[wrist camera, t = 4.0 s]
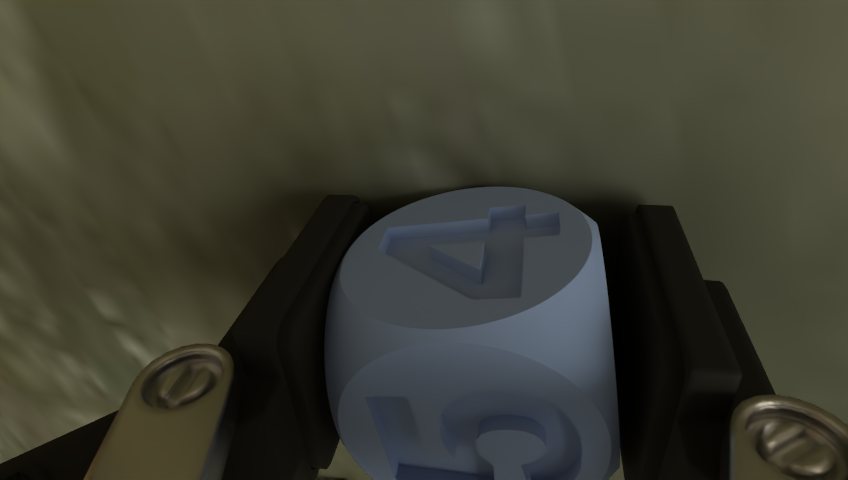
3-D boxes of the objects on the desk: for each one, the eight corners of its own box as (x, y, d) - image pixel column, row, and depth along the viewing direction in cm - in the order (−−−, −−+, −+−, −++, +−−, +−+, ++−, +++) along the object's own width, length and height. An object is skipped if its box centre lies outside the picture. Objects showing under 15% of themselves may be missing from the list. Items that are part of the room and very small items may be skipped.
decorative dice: (371, 196, 10) (291, 340, 7) (589, 173, 9) (616, 329, 6) (416, 350, 12) (370, 519, 9) (599, 345, 11) (623, 534, 8)
